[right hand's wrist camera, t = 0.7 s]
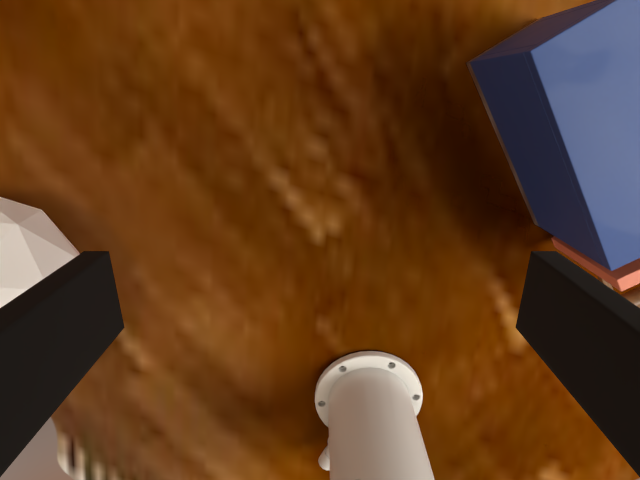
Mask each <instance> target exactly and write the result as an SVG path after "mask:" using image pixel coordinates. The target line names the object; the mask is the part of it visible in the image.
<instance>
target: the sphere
mask: <svg viewBox="0 0 640 480" xmlns="http://www.w3.org/2000/svg"><path fill="white" fill-rule="evenodd" d="M79 254H80V253H79V252H78V250H77V249H76V248H75V247H74V246H73V245H72V244H71V242H70V241H69V240H68V239H67V238H66V237H65V236H64V234H63V233H62V232H61V231H60V230H59V229H58V228H57V226H56V225H55V224H54V223H53V222H52V221H51V220H50V218H49V217H48V216H47V215H46V214H45V213H44V212H43V210H41V209H38V208H34V207H31V206H28V205H25V204H21V203H18V202H15V201H12V200H8V199H5V198H2V197H0V308H1V307H3V306H4V305H6V304H7V303H9V302H10V301H12V300H13V299H14V298H16V297H17V296H19V295H20V294H22V293H23V292H25V291H26V290H28V289H29V288H31V287H32V286H34V285H35V284H37V283H38V282H40V281H41V280H42V279H44V278H45V277H47V276H48V275H50V274H51V273H53V272H54V271H56V270H57V269H59V268H60V267H62V266H63V265H65V264H66V263H68V262H69V261H71V260H72V259H73V258H75V257H76V256H78V255H79Z"/></svg>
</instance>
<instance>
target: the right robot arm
mask: <svg viewBox="0 0 640 480" xmlns="http://www.w3.org/2000/svg"><path fill="white" fill-rule="evenodd" d="M123 328H124V324H123V319H122V314H121V309H120V304H119V299H118V294H117V289H116V285H115V280H114V275H113V270H112V265H111V260H110V255H109V251H84V252H82V253H81V254H79V255H78V256H76V257H75V258H73V259H72V260H71V261H69V262H68V263H66V264H65V265H63V266H62V267H60V268H59V269H57V270H56V271H54V272H53V273H51V274H50V275H48V276H47V277H45V278H44V279H42V280H41V281H40V282H38V283H37V284H35V285H34V286H32V287H31V288H29V289H28V290H26V291H25V292H23V293H22V294H20V295H19V296H17V297H16V298H14V299H13V300H12V301H10V302H9V303H7V304H6V305H4V306H3V307H1V308H0V477H1V475H2V474H3V473H4V472H5V471H6V469H7V468H8V467H9V466H10V465H11V463H12V462H13V461H14V460H15V459H16V457H17V456H18V455H19V454H20V453H21V451H22V450H23V449H24V448H25V447H26V445H27V444H28V443H29V442H30V441H31V439H32V438H33V437H34V436H35V434H36V433H37V432H38V431H39V430H40V428H41V427H42V426H43V425H44V424H45V422H46V421H47V420H48V419H49V418H50V416H51V415H52V414H53V413H54V412H55V410H56V409H57V408H58V407H59V406H60V404H61V403H62V402H63V401H64V400H65V398H66V397H67V396H68V395H69V393H70V392H71V391H72V390H73V389H74V387H75V386H76V385H77V384H78V383H79V381H80V380H81V379H82V378H83V377H84V375H85V374H86V373H87V372H88V371H89V369H90V368H91V367H92V366H93V365H94V363H95V362H96V361H97V360H98V359H99V357H100V356H101V355H102V354H103V352H104V351H105V350H106V349H107V348H108V346H109V345H110V344H111V343H112V342H113V340H114V339H115V338H116V337H117V336H118V334H119V333H120V332H121V331H122V330H123ZM516 328H517V330H518V331H519V332H520V333H521V334H522V336H523V337H524V338H525V339H526V340H527V342H528V343H529V344H530V345H531V346H532V348H533V349H534V350H535V351H536V352H537V354H538V355H539V356H540V357H541V359H542V360H543V361H544V362H545V363H546V365H547V366H548V367H549V368H550V369H551V371H552V372H553V373H554V374H555V375H556V377H557V378H558V379H559V380H560V381H561V383H562V384H563V385H564V386H565V387H566V389H567V390H568V391H569V392H570V393H571V395H572V396H573V397H574V398H575V400H576V401H577V402H578V403H579V404H580V406H581V407H582V408H583V409H584V410H585V412H586V413H587V414H588V415H589V416H590V418H591V419H592V420H593V421H594V422H595V424H596V425H597V426H598V427H599V428H600V430H601V431H602V432H603V433H604V434H605V436H606V437H607V438H608V439H609V441H610V442H611V443H612V444H613V445H614V447H615V448H616V449H617V450H618V451H619V453H620V454H621V455H622V456H623V457H624V459H625V460H626V461H627V462H628V463H629V465H630V466H631V467H632V468H633V469H634V471H635V472H636V473H637V474H638V475H639V477H640V308H639V307H637V306H636V305H634V304H633V303H631V302H630V301H628V300H627V299H626V298H624V297H623V296H621V295H620V294H618V293H617V292H615V291H614V290H612V289H611V288H609V287H608V286H606V285H605V284H603V283H602V282H600V281H599V280H598V279H596V278H595V277H593V276H592V275H590V274H589V273H587V272H586V271H584V270H583V269H581V268H580V267H578V266H577V265H575V264H574V263H572V262H571V261H569V260H568V259H567V258H565V257H564V256H562V255H561V254H559V253H558V252H556V251H531V255H530V260H529V265H528V270H527V275H526V280H525V285H524V289H523V294H522V299H521V304H520V309H519V314H518V319H517V324H516Z"/></svg>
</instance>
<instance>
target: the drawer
mask: <svg viewBox="0 0 640 480" xmlns="http://www.w3.org/2000/svg"><path fill="white" fill-rule="evenodd" d="M551 239H552V241H553V244H554V246H555V248H557V249H558V250H560V251H561V252H563V253H564V254H566V255H567V256H569V257H570V258H572V259H573V260H575V261H576V262H578V263H579V264H581V265H582V266H584V267H585V268H587V269H588V270H590V271H591V272H593V273H594V274H596V275H597V276H598V279H599V281H600V282H602V283H603V284H605V285H606V286H608V287H609V288H611V289H612V290H613V288H612V286H614V287H615V288H617V289H618V290H620V291H623V290H626V289H628V288H630V287H632V286H634V285H636V284H639V283H640V258H639V259H636V260H634V261H632V262H630V263H628V264H626V265H624V266H621V267H619V268H617V269H615V270H613V271H610V270H608V269H607V268H605V267H604V266H602V265H600V264H599V263H597V262H595V261H594V260H592V259H591V258H589V257H587V256H586V255H584V254H583V253H581V252H579V251H578V250H576V249H574V248H573V247H571V246H570V245H568V244H566V243H565V242H563V241H562V240H560V239H558V238H557V237H555V236H554V237H552V238H551ZM611 285H612V286H611ZM621 296H623V297H624V298H626V299H627V300H628V301H630V302H631V303H633V304H634V305H636V306H637V307H639V308H640V287H637V288H635V289H633V290H631V291H629V292H626V293H624V294H622V295H621Z"/></svg>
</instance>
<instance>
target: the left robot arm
mask: <svg viewBox="0 0 640 480" xmlns="http://www.w3.org/2000/svg"><path fill="white" fill-rule="evenodd" d="M422 398H423V393H422V387H421V384H420V381H419V378H418V376H417V375H416V373H415V371H414V370H413V369H412V368H411V367H410V366H409V364H407V363H406V362H405V361H403V360H402V359H400V358H398V357H396V356H394V355H392V354H388V353H384V352H378V351H362V352H356V353H352V354H349V355H346V356H344V357H342V358H340V359H338V360H336V361H335V362H333V363H332V364H331V365H330V366H329V367H327V368H326V369H325V370H324V372H323V373H322V375H321V376H320V378H319V380H318V382H317V385H316V390H315V405H316V410H317V413H318V415H319V417H320V418H321V420H322V421H323V423H324V424H325V425H326V426H327V427H328V428H329V438H328V441H327V442H328V446H327V447H326V448H325V449H324V451H323V452H322V454H321V455H320V457H319V459H318V462H319V465H320V466H321V467H322V468H323V469H324V470H330V480H435V479H434V476H433V473H432V469H431V466H430V462H429V459H428V456H427V452H426V449H425V445H424V442H423V439H422V435H421V432H420V428H419V425H418V422H417V418H416V416H417V414H418V413H419V411H420V408H421V405H422Z"/></svg>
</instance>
